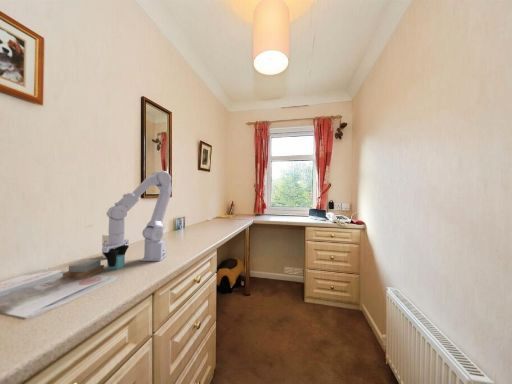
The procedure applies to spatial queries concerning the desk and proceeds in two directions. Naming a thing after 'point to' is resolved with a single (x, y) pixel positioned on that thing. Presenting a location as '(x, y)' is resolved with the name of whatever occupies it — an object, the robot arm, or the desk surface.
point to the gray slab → (84, 266)
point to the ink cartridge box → (105, 242)
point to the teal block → (117, 263)
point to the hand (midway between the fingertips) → (116, 264)
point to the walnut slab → (83, 273)
